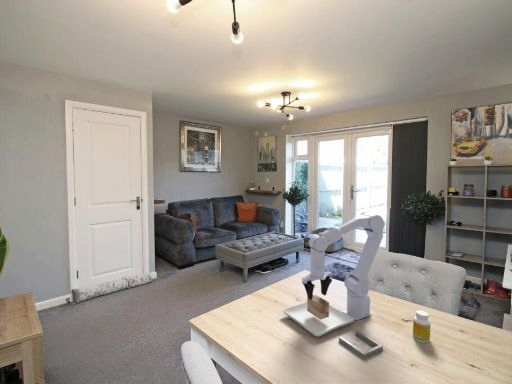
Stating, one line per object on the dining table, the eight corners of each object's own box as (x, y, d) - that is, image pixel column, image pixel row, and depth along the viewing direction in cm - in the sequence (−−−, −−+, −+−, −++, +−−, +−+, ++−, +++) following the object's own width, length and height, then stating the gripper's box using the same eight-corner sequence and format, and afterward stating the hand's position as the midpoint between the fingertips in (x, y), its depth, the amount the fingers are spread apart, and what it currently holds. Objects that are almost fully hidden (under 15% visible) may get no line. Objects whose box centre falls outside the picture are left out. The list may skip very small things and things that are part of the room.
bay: (357, 333, 104) (357, 330, 104) (382, 350, 94) (383, 345, 94) (338, 341, 99) (338, 337, 99) (364, 359, 90) (364, 354, 90)
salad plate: (355, 326, 110) (356, 318, 110) (316, 343, 99) (317, 334, 98) (317, 305, 128) (317, 297, 128) (281, 317, 117) (281, 309, 116)
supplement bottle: (424, 344, 98) (425, 318, 97) (409, 336, 102) (410, 311, 102) (433, 340, 100) (434, 314, 99) (418, 332, 105) (419, 308, 104)
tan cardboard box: (315, 308, 118) (315, 294, 117) (328, 316, 111) (329, 302, 110) (307, 310, 116) (307, 296, 115) (320, 319, 109) (320, 304, 108)
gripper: (310, 270, 107) (310, 304, 107) (337, 264, 114) (336, 296, 115) (298, 265, 113) (298, 297, 114) (325, 259, 120) (324, 290, 121)
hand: (316, 296), depth 114 cm, fingers open, 7 cm apart
